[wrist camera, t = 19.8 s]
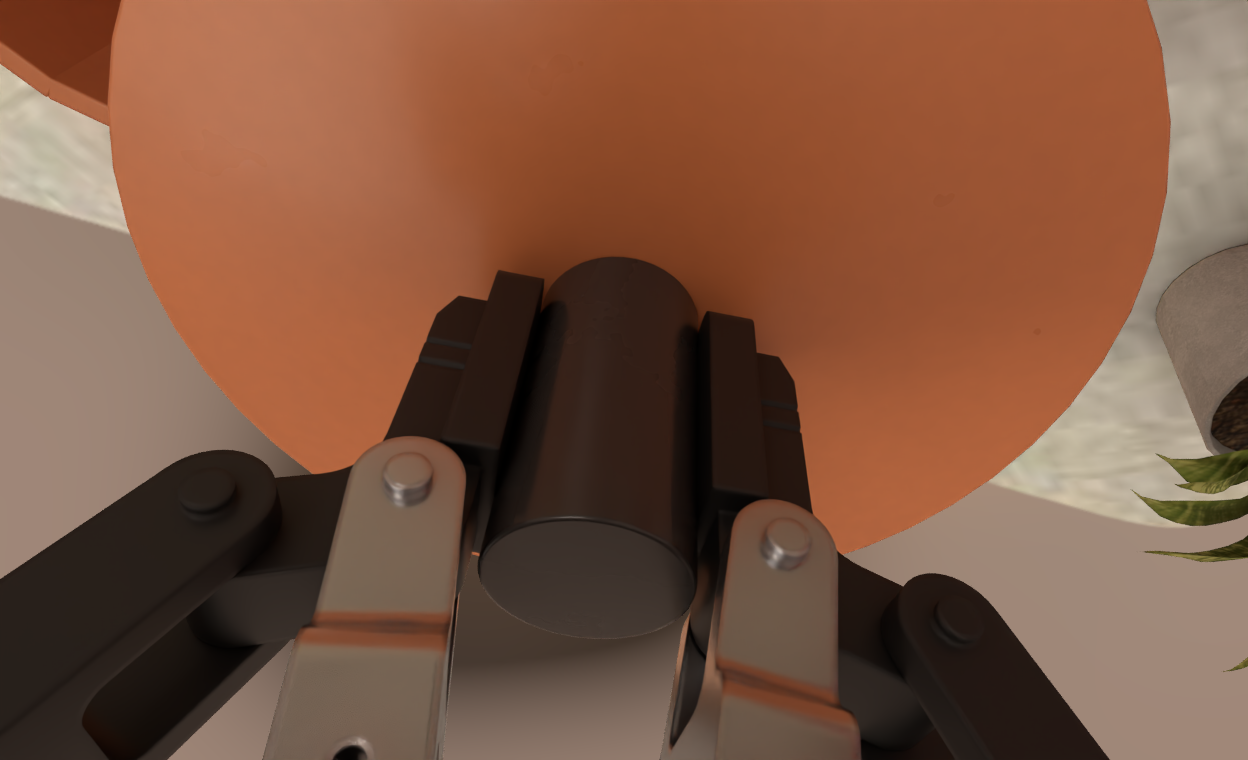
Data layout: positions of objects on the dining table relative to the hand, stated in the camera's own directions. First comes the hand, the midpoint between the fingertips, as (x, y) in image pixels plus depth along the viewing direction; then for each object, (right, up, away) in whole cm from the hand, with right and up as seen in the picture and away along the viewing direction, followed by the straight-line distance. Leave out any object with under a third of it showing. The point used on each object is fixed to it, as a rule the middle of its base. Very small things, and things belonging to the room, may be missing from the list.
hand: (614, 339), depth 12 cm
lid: (0, +1, +1) cm, 1 cm away
